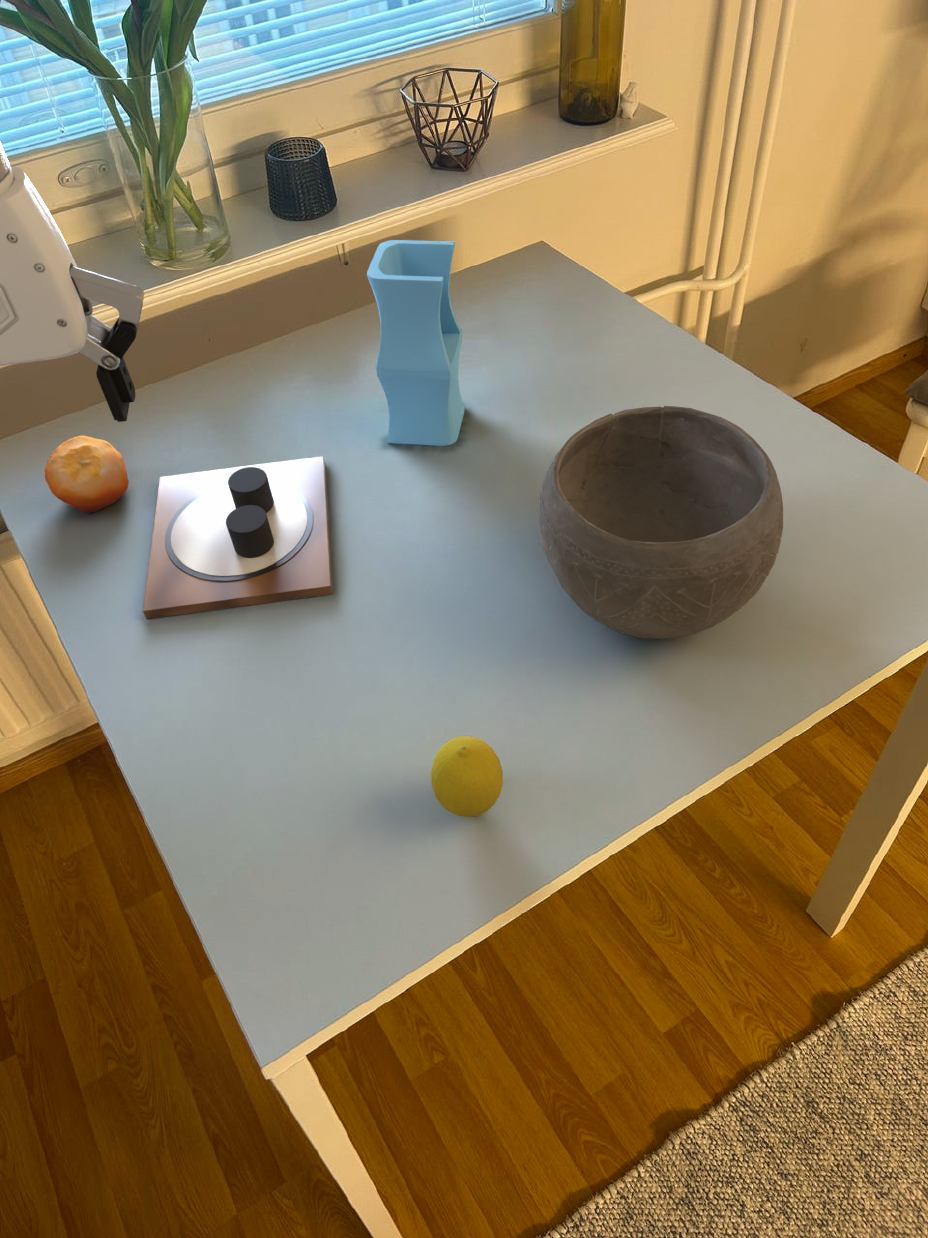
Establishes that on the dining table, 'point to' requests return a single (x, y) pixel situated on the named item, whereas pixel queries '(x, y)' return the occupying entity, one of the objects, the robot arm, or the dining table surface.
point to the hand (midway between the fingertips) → (53, 418)
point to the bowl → (661, 520)
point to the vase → (418, 341)
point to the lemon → (466, 776)
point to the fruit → (86, 473)
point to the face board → (204, 553)
